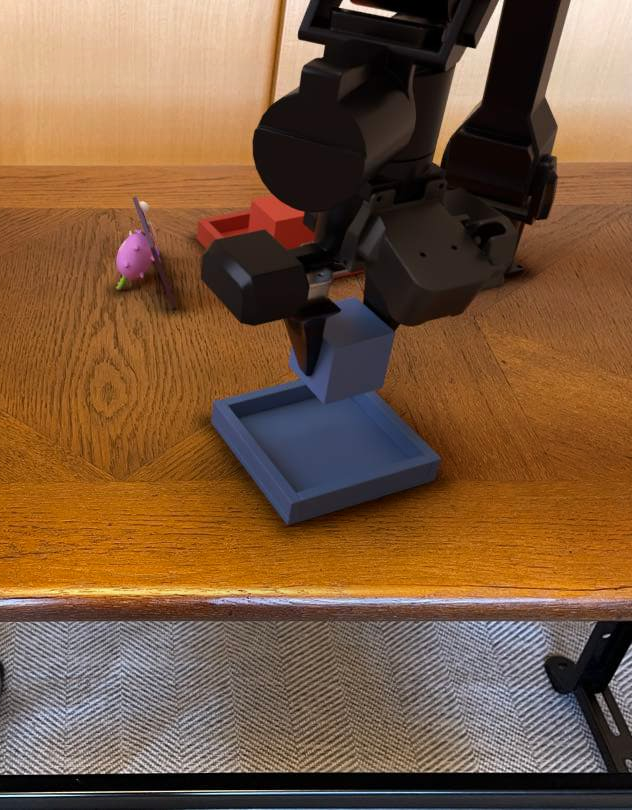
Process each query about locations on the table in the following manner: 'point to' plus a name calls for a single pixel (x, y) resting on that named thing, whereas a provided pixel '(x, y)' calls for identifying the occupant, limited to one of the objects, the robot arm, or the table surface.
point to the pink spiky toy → (140, 253)
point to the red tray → (228, 228)
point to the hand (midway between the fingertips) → (336, 364)
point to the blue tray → (322, 448)
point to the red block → (279, 221)
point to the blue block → (349, 354)
